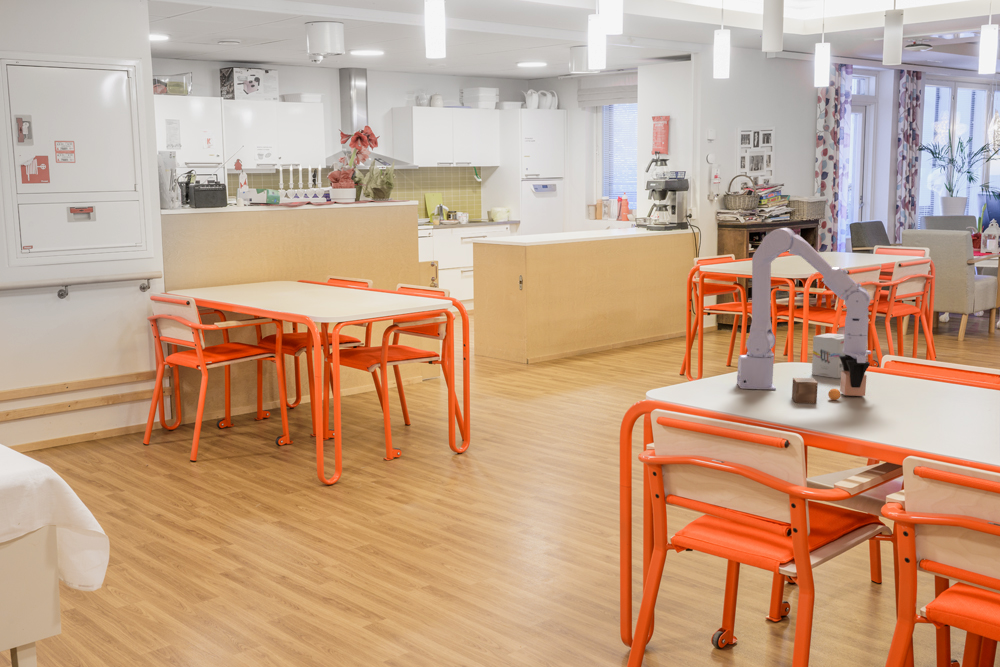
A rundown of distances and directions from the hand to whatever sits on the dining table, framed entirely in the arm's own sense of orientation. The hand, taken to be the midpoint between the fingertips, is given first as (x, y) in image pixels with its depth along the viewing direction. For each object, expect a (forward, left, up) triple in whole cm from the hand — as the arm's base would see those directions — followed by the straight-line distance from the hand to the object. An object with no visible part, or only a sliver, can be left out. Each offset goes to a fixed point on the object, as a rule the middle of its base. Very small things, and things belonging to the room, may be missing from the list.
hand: (852, 384), depth 250 cm
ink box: (+1, +28, -3) cm, 28 cm away
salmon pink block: (0, 0, -2) cm, 2 cm away
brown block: (-14, -8, -3) cm, 16 cm away
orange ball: (-6, -6, -3) cm, 9 cm away
